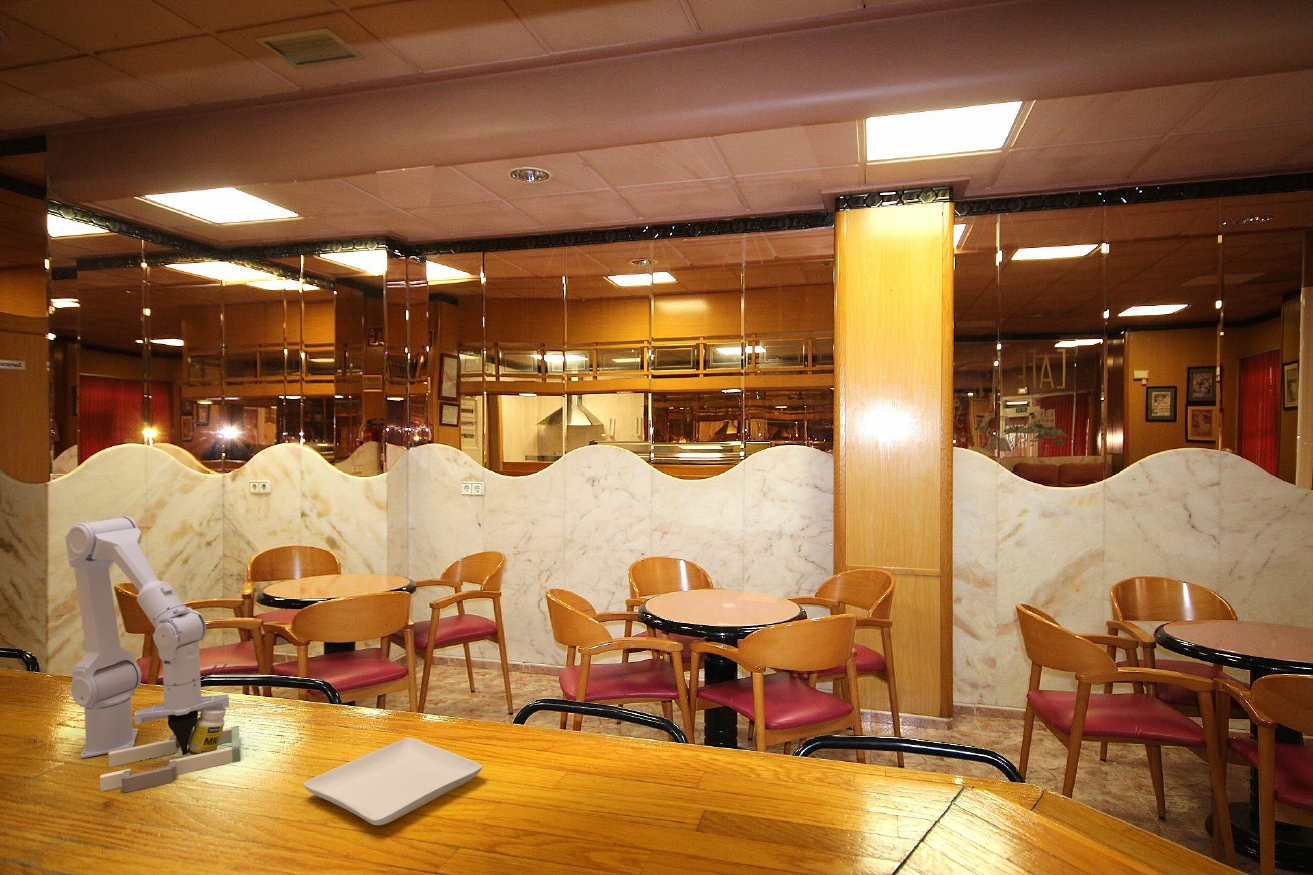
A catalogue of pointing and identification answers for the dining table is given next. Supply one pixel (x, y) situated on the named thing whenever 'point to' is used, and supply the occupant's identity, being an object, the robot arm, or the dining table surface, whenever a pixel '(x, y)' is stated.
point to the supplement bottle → (207, 731)
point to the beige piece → (175, 765)
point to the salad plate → (393, 780)
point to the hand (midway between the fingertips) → (185, 752)
